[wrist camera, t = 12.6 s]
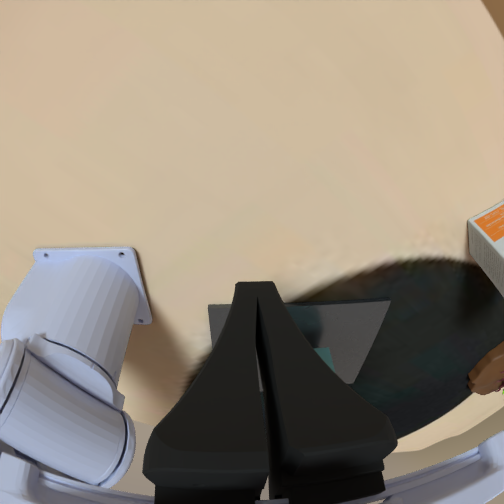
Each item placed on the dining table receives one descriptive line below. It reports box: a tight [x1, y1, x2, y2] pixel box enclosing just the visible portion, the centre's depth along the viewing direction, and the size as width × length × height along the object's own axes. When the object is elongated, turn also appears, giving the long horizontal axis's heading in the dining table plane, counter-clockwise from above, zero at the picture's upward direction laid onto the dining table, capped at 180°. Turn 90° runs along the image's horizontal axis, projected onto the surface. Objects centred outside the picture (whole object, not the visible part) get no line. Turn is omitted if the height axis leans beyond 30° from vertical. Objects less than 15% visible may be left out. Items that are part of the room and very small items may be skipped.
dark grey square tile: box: [208, 298, 391, 391], centre depth 27 cm, size 16×14×7 cm
